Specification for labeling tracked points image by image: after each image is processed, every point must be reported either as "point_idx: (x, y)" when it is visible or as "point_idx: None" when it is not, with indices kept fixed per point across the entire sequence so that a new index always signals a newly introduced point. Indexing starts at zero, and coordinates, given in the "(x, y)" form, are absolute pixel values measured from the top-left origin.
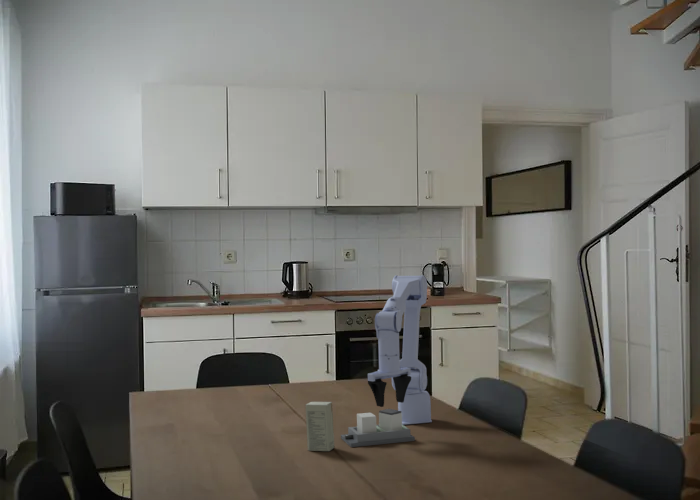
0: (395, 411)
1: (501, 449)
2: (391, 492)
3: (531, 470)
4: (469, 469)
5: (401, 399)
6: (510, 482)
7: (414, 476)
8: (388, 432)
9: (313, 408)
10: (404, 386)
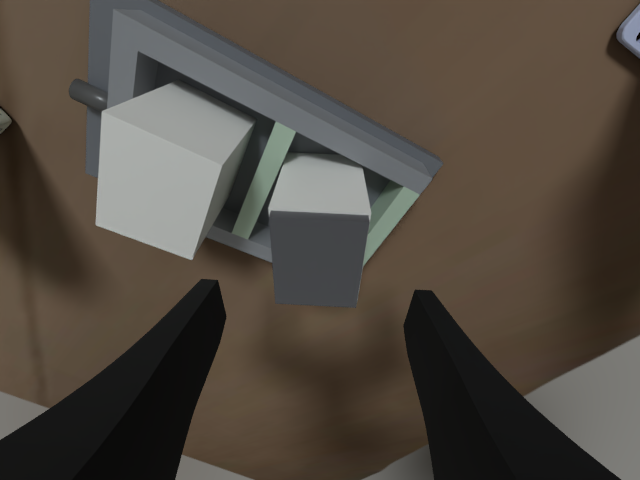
0: (326, 294)
1: (410, 410)
2: None
3: (322, 456)
4: (254, 422)
5: (409, 341)
6: (254, 458)
7: None
8: (254, 253)
9: None
10: (434, 475)
